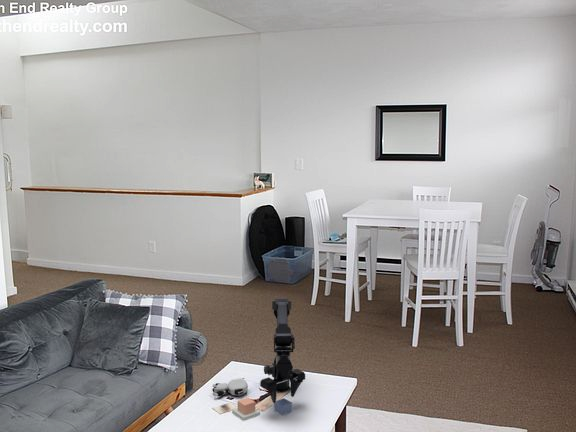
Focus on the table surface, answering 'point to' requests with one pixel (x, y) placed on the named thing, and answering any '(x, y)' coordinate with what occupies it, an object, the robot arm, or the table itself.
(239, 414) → the grey baseplate
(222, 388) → the robot toy
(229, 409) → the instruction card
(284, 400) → the navy brick
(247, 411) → the terracotta brick
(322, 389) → the table surface
